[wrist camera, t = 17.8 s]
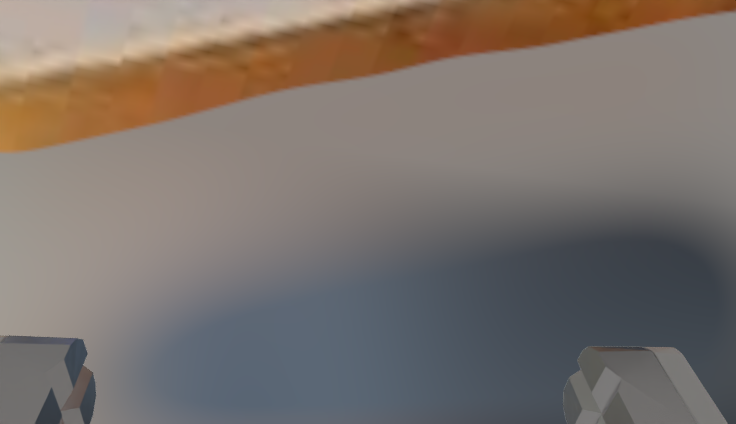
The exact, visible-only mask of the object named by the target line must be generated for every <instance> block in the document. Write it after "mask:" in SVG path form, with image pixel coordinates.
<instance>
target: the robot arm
mask: <svg viewBox="0 0 736 424" xmlns="http://www.w3.org/2000/svg"><path fill="white" fill-rule="evenodd" d="M86 357H87V350H86V347H85V344H84V341H83V340H82V339H77V338H53V337H31V336H0V424H90V422H91V419H92V416H93V411H94V405H95V399H96V385H95V379H94V375H93V372H92V371H90V370H89V369H87V368H86V367H85V366H83V364H84V361H85V359H86ZM578 363H579V366H580V368H581V370H580V371H578V372H577V373H575V374H574V375H572V376H571V377H569V379H568V381H567V384H566V386H565V388H564V396H563V408H564V412H565V418H566V421H567V424H728V423H727V422H726V420H725V419H724V417H723V416H722V414H721V413H720V411H719V410H718V408H717V406H716V405H715V403H714V402H713V401H712V399H711V397H710V396H709V394H708V393H707V391H706V390H705V388H704V387H703V385H702V384H701V382H700V381H699V379H698V377H697V376H696V374H695V373H694V371H693V370H692V368H691V367H690V365H689V364H688V362H687V361H686V359H685V358H684V356H683V355H682V354H681V353H680V352H679V351H678V350H676V349H675V348H672V347H671V348H670V347H629V346H624V347H623V346H621V347H620V346H618V347H617V346H607V347H606V346H589V347H587V348H586V349H584V350H583V351H582V352H581V354H580V356H579V358H578Z"/></svg>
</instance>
